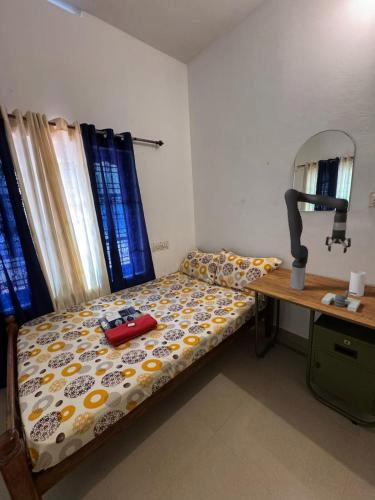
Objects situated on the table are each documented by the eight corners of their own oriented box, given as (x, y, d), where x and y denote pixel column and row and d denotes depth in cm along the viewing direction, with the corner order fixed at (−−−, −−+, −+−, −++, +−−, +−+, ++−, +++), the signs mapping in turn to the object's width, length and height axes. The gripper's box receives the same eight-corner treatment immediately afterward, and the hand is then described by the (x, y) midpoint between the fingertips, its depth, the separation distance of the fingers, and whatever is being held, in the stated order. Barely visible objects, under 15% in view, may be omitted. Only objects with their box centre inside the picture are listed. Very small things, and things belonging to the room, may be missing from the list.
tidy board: (321, 303, 142) (322, 291, 140) (327, 296, 151) (328, 284, 149) (355, 312, 129) (357, 299, 127) (360, 303, 138) (361, 291, 136)
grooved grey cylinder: (333, 305, 138) (334, 296, 137) (335, 302, 142) (336, 293, 140) (343, 308, 134) (344, 299, 133) (345, 304, 138) (346, 296, 136)
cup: (360, 297, 147) (363, 275, 143) (346, 293, 153) (349, 272, 150) (365, 294, 151) (368, 272, 148) (351, 290, 158) (353, 269, 154)
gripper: (325, 229, 148) (323, 252, 152) (350, 230, 138) (348, 254, 141) (328, 227, 153) (326, 250, 157) (353, 228, 143) (350, 252, 146)
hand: (336, 252), depth 149 cm, fingers open, 8 cm apart
